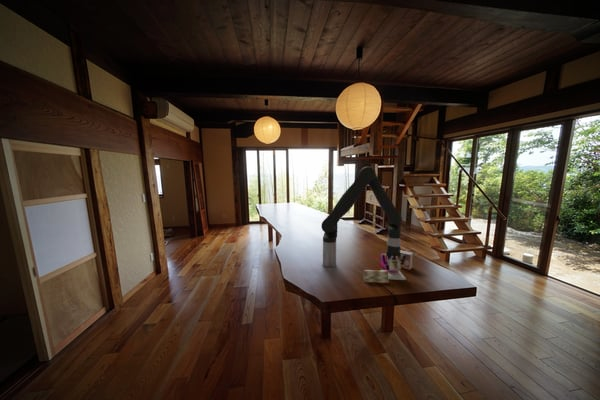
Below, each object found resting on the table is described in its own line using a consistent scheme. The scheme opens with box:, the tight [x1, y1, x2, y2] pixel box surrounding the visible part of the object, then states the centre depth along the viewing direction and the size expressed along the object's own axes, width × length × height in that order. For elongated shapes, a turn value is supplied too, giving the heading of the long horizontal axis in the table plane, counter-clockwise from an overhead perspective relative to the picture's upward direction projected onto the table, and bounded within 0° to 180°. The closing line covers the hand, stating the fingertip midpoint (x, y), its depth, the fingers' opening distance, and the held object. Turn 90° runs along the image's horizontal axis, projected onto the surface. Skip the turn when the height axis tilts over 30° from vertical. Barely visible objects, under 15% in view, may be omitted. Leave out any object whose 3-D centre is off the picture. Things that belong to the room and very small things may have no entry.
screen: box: [363, 269, 390, 284], centre depth 123 cm, size 14×3×6 cm, turn 83°
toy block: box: [380, 252, 398, 272], centre depth 139 cm, size 15×6×8 cm, turn 177°
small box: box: [399, 249, 414, 271], centre depth 141 cm, size 8×6×10 cm
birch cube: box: [389, 260, 402, 271], centre depth 128 cm, size 6×6×6 cm
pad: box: [379, 269, 407, 281], centre depth 130 cm, size 12×11×1 cm
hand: (392, 270), depth 130 cm, fingers closed on birch cube, 5 cm apart
